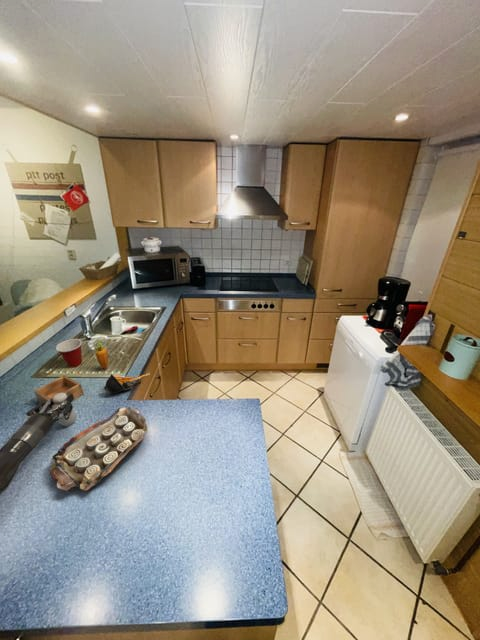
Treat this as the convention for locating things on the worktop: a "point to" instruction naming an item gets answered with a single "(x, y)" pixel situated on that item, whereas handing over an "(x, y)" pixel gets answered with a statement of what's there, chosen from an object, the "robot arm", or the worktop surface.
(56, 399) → the salt shaker
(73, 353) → the plastic cup
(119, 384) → the fried shrimp in bowl
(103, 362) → the carrot
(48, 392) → the box
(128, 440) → the baking tray
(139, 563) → the worktop surface
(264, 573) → the worktop surface
